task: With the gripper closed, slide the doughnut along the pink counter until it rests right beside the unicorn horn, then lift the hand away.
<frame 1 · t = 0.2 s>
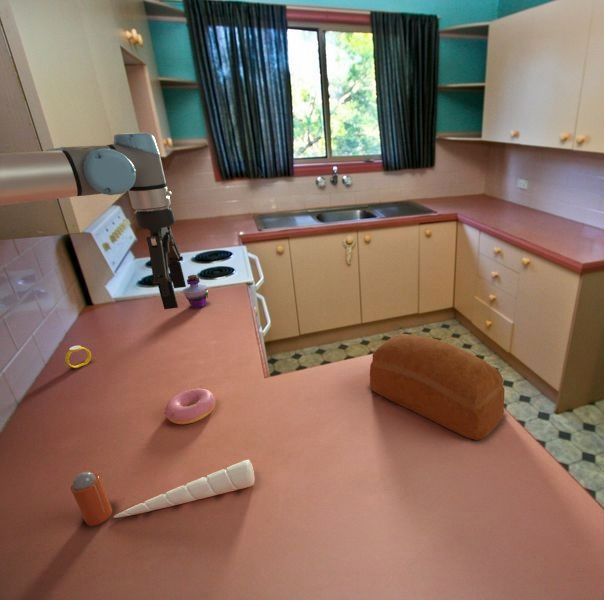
hand: (176, 297, 102), 25 cm above the countertop, tool pointing down, fingers open, 13 cm apart
doughnut: (192, 413, 102), on the countertop
salt shaker: (99, 516, 75), on the countertop
unicorn horn: (193, 500, 78), on the countertop
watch: (81, 366, 123), on the countertop
potion bottle: (199, 306, 160), on the countertop
bread: (433, 402, 103), on the countertop
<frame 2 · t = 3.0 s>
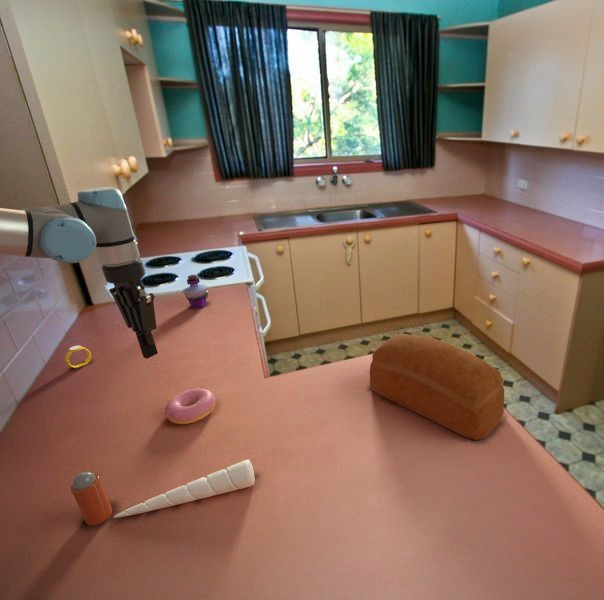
hand: (150, 355, 101), 13 cm above the countertop, tool pointing down, fingers closed
nothing on the countertop moved.
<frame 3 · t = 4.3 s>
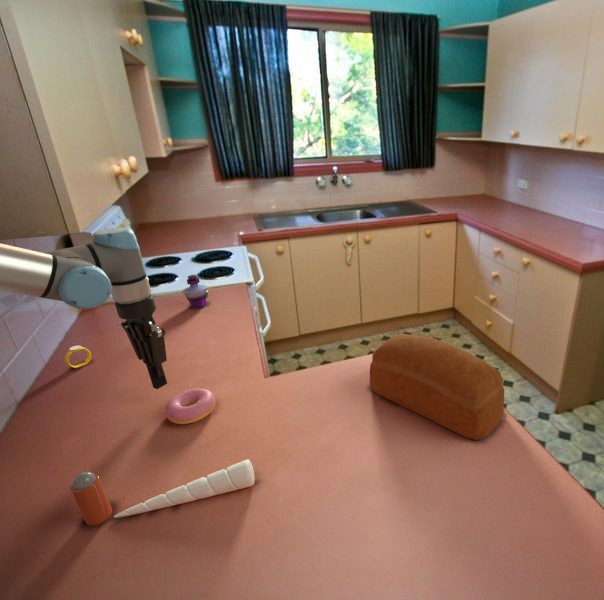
hand: (160, 385, 104), 4 cm above the countertop, tool pointing down, fingers closed
nothing on the countertop moved.
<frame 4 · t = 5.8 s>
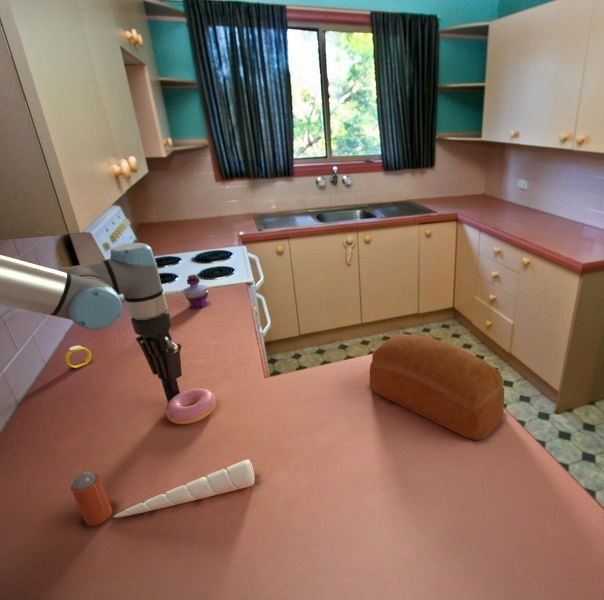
hand: (174, 400, 104), 2 cm above the countertop, tool pointing down, fingers closed
doughnut: (193, 413, 102), on the countertop, touching gripper
everything else where it was.
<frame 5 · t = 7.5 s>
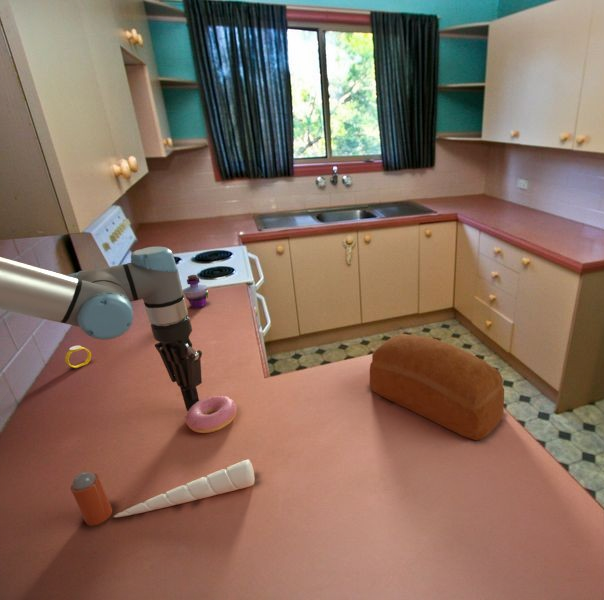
hand: (193, 408, 101), 1 cm above the countertop, tool pointing down, fingers closed
doughnut: (213, 421, 99), on the countertop, touching gripper
everything else where it was.
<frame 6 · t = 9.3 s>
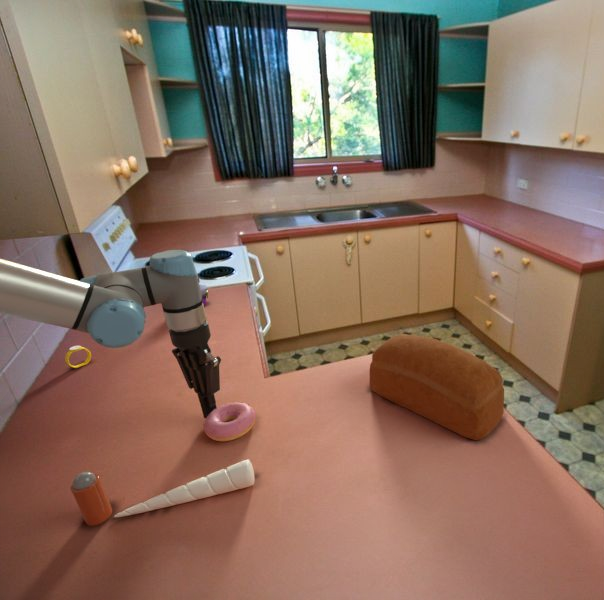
hand: (211, 415, 98), 1 cm above the countertop, tool pointing down, fingers closed
doughnut: (231, 428, 96), on the countertop, touching gripper
everything else where it was.
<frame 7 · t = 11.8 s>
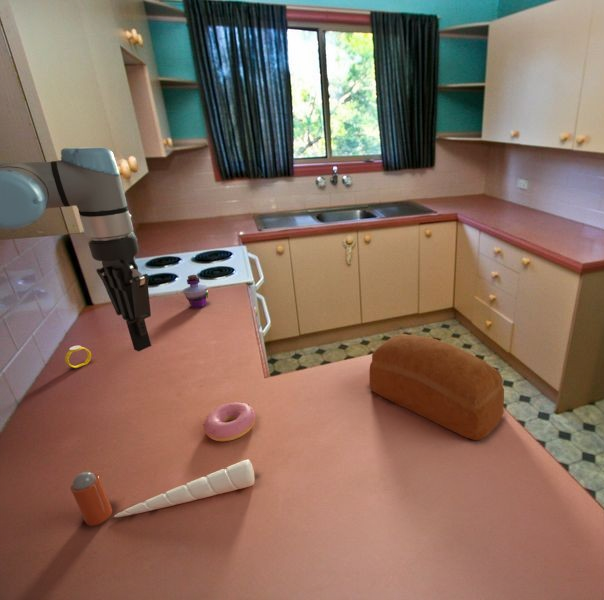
hand: (142, 347, 88), 21 cm above the countertop, tool pointing down, fingers closed
doughnut: (231, 428, 96), on the countertop
everything else where it was.
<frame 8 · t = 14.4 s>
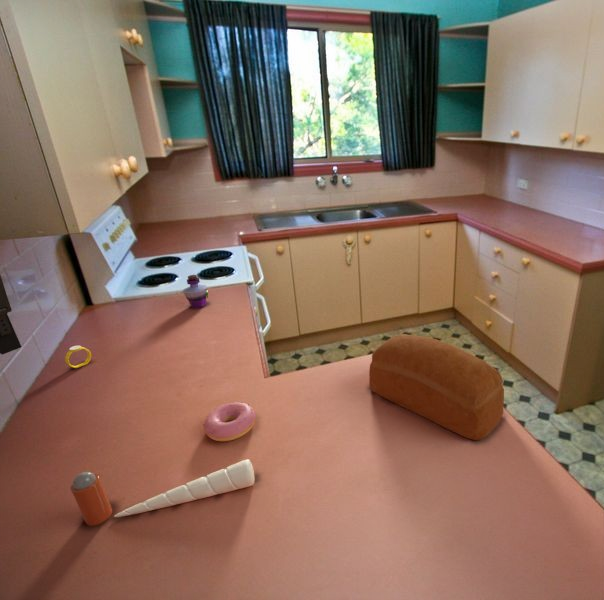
hand: (10, 349, 71), 29 cm above the countertop, tool pointing down, fingers closed
nothing on the countertop moved.
at the end: doughnut inside the target area on the countertop beside the unicorn horn (5.4 cm from its centre), on the countertop; doughnut moved 13.0 cm from its start; unicorn horn moved 0.2 cm from its start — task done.
